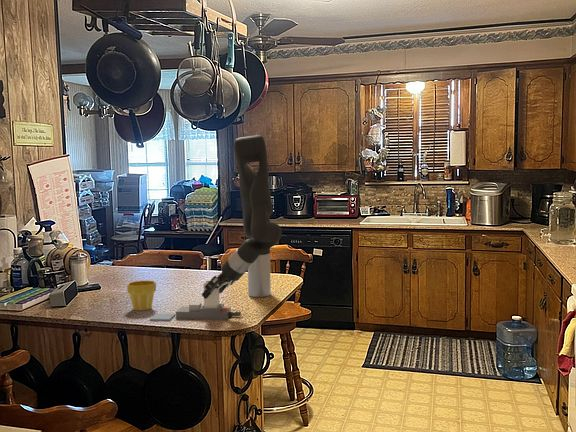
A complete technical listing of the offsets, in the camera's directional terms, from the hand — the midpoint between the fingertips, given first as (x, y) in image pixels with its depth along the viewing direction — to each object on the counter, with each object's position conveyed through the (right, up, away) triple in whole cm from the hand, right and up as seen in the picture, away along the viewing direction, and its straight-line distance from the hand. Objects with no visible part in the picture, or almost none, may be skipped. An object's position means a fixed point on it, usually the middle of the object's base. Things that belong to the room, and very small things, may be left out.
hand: (211, 294), depth 200 cm
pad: (-17, -8, -1) cm, 19 cm away
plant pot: (-28, -7, +13) cm, 32 cm away
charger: (0, -6, 0) cm, 6 cm away
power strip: (-1, -8, +1) cm, 8 cm away
